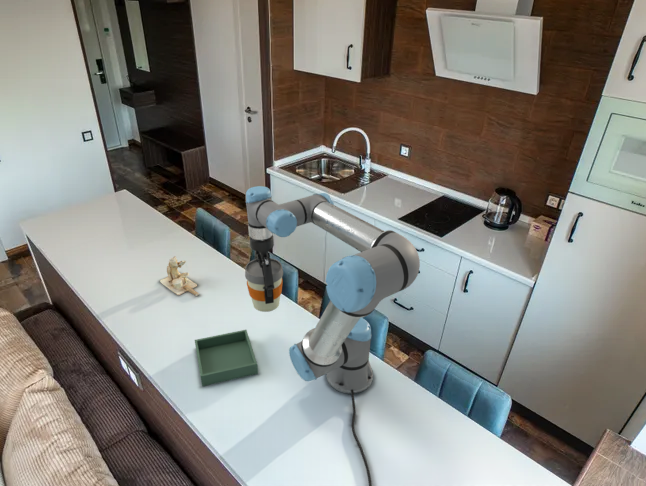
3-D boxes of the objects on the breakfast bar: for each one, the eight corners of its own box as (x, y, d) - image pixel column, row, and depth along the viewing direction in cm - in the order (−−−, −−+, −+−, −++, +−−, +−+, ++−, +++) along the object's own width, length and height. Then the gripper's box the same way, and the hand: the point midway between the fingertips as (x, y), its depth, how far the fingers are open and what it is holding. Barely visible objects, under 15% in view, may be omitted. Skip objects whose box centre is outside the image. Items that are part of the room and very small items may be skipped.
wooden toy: (158, 281, 200) (152, 254, 192) (179, 272, 206) (174, 246, 198) (185, 302, 187) (179, 274, 179) (206, 292, 192) (202, 265, 185)
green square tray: (258, 373, 152) (257, 363, 149) (202, 386, 147) (200, 376, 145) (247, 339, 167) (246, 329, 164) (196, 349, 162) (194, 339, 160)
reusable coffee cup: (268, 289, 163) (266, 253, 155) (292, 304, 156) (290, 267, 147) (240, 303, 156) (236, 266, 148) (263, 320, 148) (260, 282, 140)
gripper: (282, 252, 132) (284, 310, 144) (264, 217, 152) (268, 271, 164) (257, 256, 131) (261, 315, 142) (242, 220, 150) (247, 274, 162)
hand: (265, 291), depth 153 cm, fingers closed on reusable coffee cup, 12 cm apart
